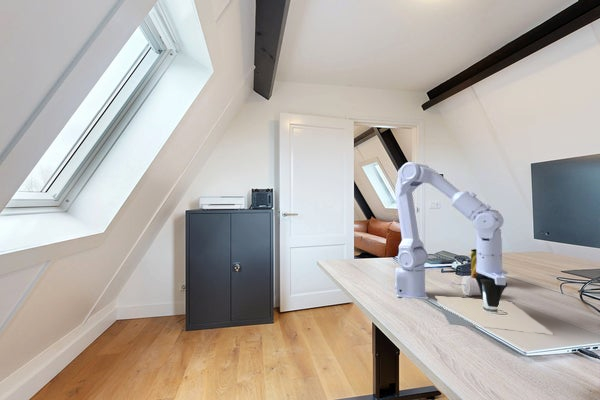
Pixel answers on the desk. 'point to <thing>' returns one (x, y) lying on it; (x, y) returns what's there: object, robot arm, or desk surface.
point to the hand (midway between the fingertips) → (489, 303)
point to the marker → (485, 306)
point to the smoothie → (469, 286)
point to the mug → (473, 262)
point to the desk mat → (457, 318)
